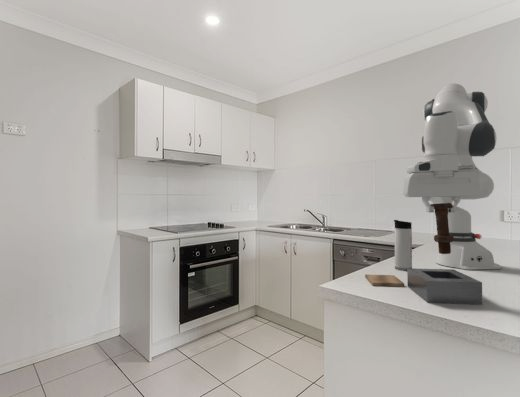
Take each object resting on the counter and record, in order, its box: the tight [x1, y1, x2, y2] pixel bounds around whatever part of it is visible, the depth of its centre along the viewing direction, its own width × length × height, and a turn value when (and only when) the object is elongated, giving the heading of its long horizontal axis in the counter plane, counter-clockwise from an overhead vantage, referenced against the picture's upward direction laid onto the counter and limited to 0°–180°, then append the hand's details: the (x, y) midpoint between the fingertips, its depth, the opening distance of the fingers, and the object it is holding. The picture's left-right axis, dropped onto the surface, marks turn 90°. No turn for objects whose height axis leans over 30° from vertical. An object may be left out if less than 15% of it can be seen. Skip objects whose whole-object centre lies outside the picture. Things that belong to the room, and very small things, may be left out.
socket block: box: [406, 267, 483, 305], centre depth 85 cm, size 14×14×6 cm
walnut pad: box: [364, 274, 405, 288], centre depth 98 cm, size 10×10×1 cm
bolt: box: [429, 203, 454, 254], centre depth 85 cm, size 6×5×15 cm
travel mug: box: [393, 219, 413, 272], centre depth 115 cm, size 6×7×20 cm
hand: (440, 212), depth 85 cm, fingers closed on bolt, 5 cm apart
